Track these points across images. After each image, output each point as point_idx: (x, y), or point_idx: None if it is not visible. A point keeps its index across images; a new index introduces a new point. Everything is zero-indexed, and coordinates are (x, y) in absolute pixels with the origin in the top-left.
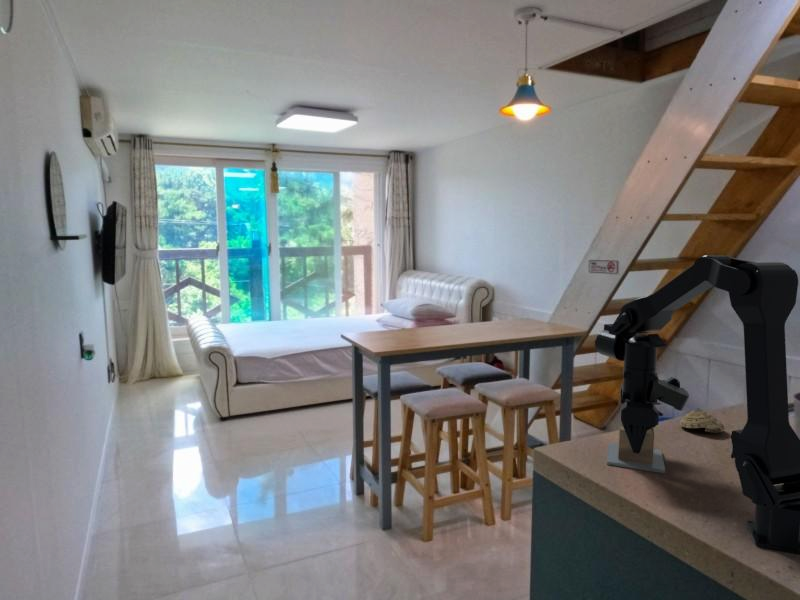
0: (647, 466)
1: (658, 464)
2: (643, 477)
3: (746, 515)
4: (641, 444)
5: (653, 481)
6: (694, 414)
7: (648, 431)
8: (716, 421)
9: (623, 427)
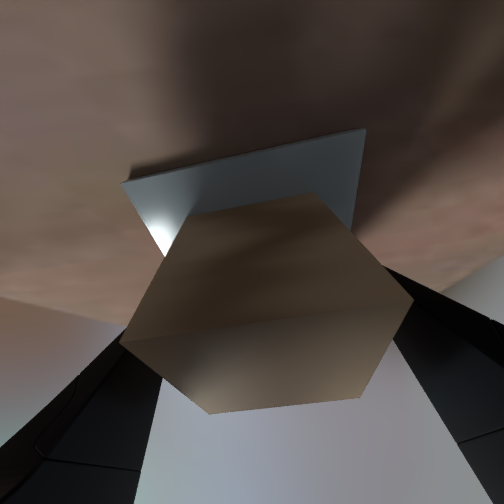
0: (343, 205)
1: (307, 169)
2: (411, 200)
3: None
4: (430, 293)
5: (446, 163)
6: None
7: (356, 333)
8: None
9: (325, 396)
